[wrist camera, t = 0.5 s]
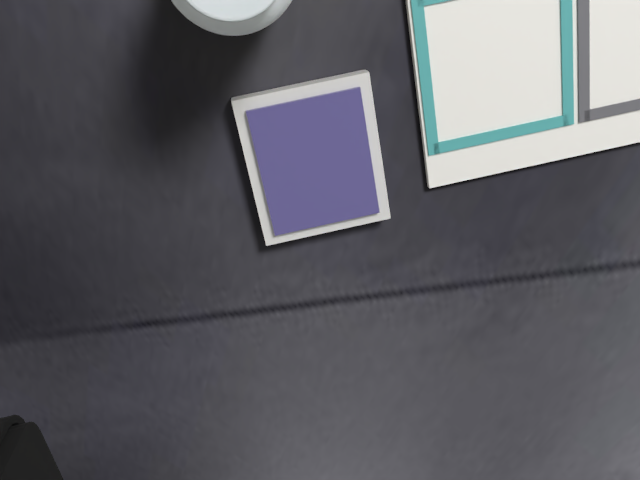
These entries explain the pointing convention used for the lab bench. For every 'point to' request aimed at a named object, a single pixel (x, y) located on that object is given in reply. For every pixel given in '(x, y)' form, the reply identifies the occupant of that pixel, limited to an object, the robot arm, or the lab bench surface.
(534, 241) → the lab bench surface
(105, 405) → the lab bench surface
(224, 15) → the supplement bottle
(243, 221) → the lab bench surface
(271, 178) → the ink pad
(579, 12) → the print sheet
